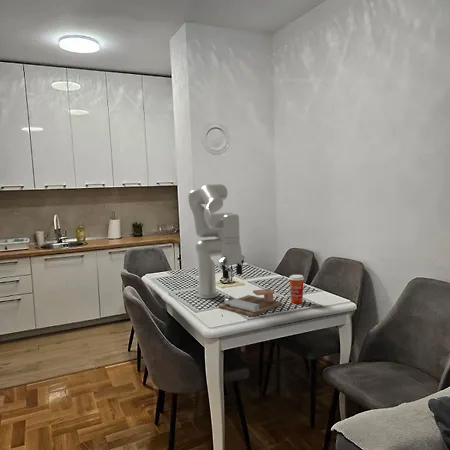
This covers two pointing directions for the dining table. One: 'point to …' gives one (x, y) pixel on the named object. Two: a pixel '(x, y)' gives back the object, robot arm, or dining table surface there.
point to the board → (253, 299)
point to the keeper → (265, 294)
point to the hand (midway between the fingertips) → (232, 276)
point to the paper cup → (296, 288)
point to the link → (241, 304)
